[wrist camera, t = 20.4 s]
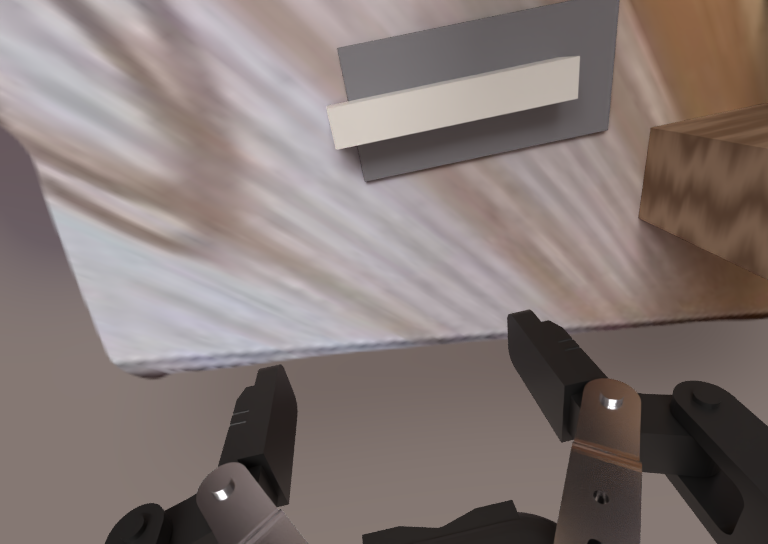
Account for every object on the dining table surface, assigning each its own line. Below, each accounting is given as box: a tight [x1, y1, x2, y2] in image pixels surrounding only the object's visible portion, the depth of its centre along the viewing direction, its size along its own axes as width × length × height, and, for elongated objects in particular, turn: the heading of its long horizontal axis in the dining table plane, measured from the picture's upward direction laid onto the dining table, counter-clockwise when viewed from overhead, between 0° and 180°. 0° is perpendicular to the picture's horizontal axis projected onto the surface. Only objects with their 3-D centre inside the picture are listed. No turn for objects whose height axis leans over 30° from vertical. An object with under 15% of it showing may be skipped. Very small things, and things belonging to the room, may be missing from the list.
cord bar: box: [327, 56, 580, 150], centre depth 42 cm, size 4×26×4 cm, turn 100°
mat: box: [337, 0, 619, 182], centre depth 44 cm, size 14×30×1 cm, turn 100°
